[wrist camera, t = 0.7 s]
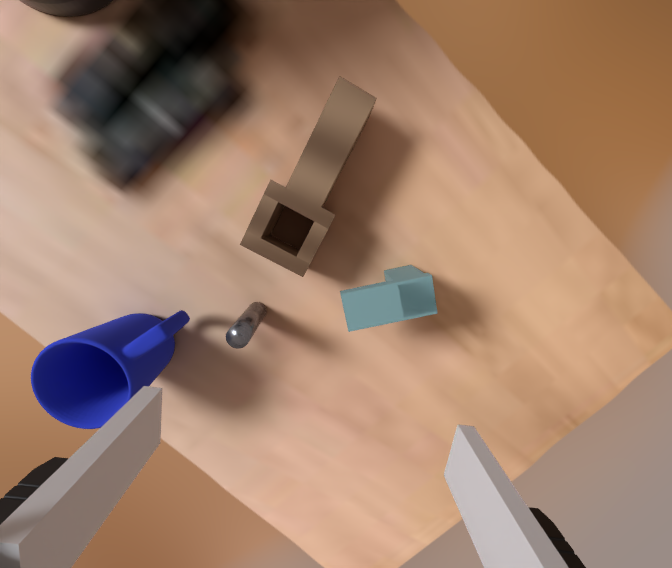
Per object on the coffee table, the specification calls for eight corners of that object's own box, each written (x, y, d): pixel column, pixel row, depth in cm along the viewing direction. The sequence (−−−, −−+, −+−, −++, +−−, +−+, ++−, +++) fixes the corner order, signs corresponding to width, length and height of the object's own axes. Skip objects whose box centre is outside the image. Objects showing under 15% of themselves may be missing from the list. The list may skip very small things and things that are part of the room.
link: (324, 89, 31) (324, 66, 26) (382, 123, 32) (391, 107, 27) (252, 240, 34) (239, 244, 29) (306, 268, 35) (303, 277, 30)
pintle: (246, 303, 36) (223, 329, 28) (263, 300, 36) (245, 324, 28) (251, 320, 36) (229, 350, 28) (268, 317, 36) (251, 346, 28)
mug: (227, 331, 36) (190, 375, 27) (143, 385, 37) (77, 446, 28) (181, 271, 35) (123, 293, 25) (94, 329, 36) (7, 372, 26)
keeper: (338, 277, 35) (340, 294, 28) (410, 262, 35) (431, 275, 28) (344, 308, 36) (348, 331, 29) (415, 293, 36) (437, 313, 29)
